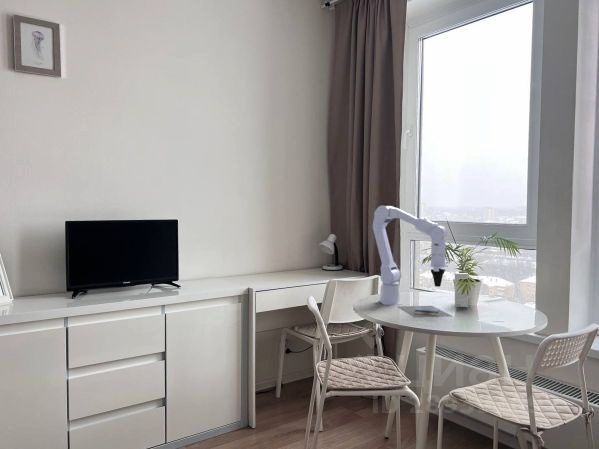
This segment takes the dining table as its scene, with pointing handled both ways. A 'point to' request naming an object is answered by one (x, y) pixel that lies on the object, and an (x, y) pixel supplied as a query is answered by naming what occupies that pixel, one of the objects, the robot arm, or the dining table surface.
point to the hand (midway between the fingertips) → (437, 286)
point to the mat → (411, 311)
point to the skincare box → (459, 299)
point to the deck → (427, 311)
